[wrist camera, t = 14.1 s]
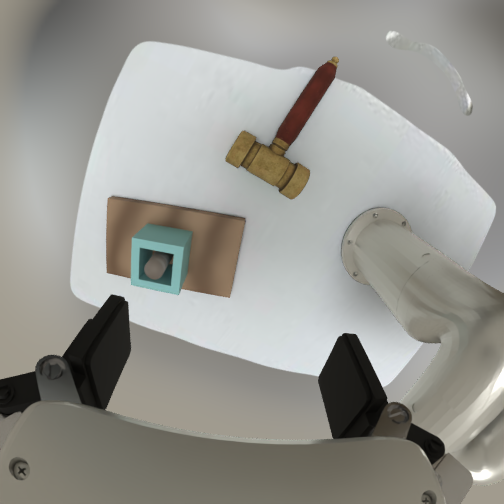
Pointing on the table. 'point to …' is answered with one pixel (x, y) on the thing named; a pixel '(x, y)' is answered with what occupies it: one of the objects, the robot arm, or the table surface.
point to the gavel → (284, 140)
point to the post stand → (200, 260)
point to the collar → (164, 242)
